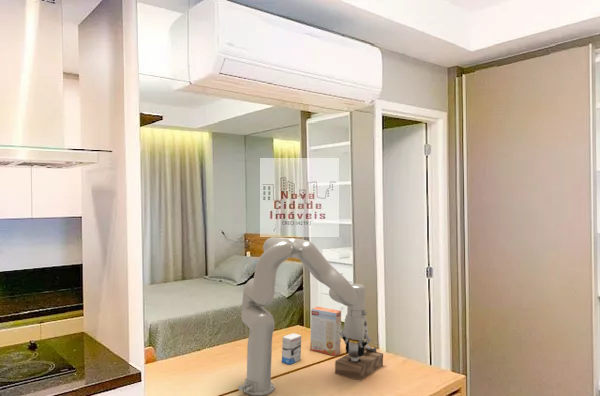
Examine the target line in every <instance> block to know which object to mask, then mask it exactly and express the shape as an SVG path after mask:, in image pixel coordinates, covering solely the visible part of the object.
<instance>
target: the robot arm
mask: <svg viewBox="0 0 600 396" xmlns="http://www.w3.org/2000/svg"><path fill="white" fill-rule="evenodd" d="M262 250H263V253H261V255H260V256H259V258H258V260H257V262H256V265H255V269H254V276H253V277H252V278H250V279H249V280H248V281H247V282H246V283H245V285H244V288H243V291H242V300H241V301H242V302H241V312H240V313H241V316H240V317H241V321H242V322H243V324H244V325H245V326H246V327H247V328H248V329H249V333H248V338H247V349H246V350H247V353H246V354H247V355H246V356H247V357H246V360H247V361H246V379H244V383H243V384H241V385H239V386H238V388H237V389H238V391H239V392H242V391H243V392H244V394H245V393H246V394H247V395H250V396H266V395H269V394H272V393H273V392H274V391H275V384H274V383H273V382H272V358H273V357H272V352H273V348H272V347H273V346H272V345H273V337H274V336H273V334H274V330H275V319H274V317H273V314H272V313H271V312H270V311H268V309H266V308H265V307H267V306H269V305H271V304H272V302H273V301H274V297H275V290H276V288H275V287H276V279H277V272H278V269H279V267H280V266H281V265H282V264H283V263H284V262H286V261H287V260H288V259H297V260H299V261H300V262H301V264H303V266H305V268H306V269H307V270H308V271H309V272H310V274H311V275H312V276H313V278H314V279H316V280H317V281H318V282H320V283H321V284H323V285H324V286H326V287H327V288H329V291H328V295H329V297H330V299H332V300H333V301H335V302H337V303H338V304H342V305H344V306H345V307H347V309H346V310H347V311H346V312H347V313H346V314H345V317H344V323H343V330H341V333H340V335H341V339H342V340H343V341H344V344H345V353H346V354H348V349H349V339H354V340H358V341H359V344H360V347H359V357H361V356H363V355H364V346H366V345H368V344H369V343H371V342H372V338H371V336H370V335H369V327H368V325H369V324H368V318H367V316H368V312H367V311H366V286H365V285H363V284H361V283H350V282H349V281H348V280H347V278H346V277H345V276H343V275H342V274H341V273H340V272H339V271H338V270H337V269H336V268H335V267H333V266H332V265H331V264H330V262H329V261H328V260H327V259H326V257H325V256H324V254H322V253H321V251H319V249H318V248H317V246H316V245H315V244H314V243H313V242H311V241H310V240H306V239H302V238H293V237H278V236H272V237H269V238H267V239H266V240H265V241H264V243H263V246H262ZM365 339H366V340H365Z"/></svg>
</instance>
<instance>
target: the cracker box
mask: <svg viewBox="0 0 600 396" xmlns="http://www.w3.org/2000/svg"><path fill="white" fill-rule="evenodd" d="M310 311H311V315H310V316H311V318H310V319H311V320H310V347H309V349H310V351H312V352H313V351H314V352H318V353H321V354H325V355H329V356H337V355H339V354H340V353H341V339H342V337H341V335H340V333H341V332H342V310H339V309H333V308H332V309H331V308H327V307H321V306H315V307H313V308H311V310H310Z"/></svg>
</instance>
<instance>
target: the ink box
mask: <svg viewBox="0 0 600 396" xmlns="http://www.w3.org/2000/svg"><path fill="white" fill-rule="evenodd" d="M281 348H282V350H281V363H283V364H286V365H289V366H290V365H292V364H295V363H297V362H300V361H301V356H302V355H301V354H302V335H301V334H297V333H295V332H293V333H289V334H286V335H284V336H283V337H282V345H281Z"/></svg>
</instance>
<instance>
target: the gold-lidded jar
mask: <svg viewBox="0 0 600 396" xmlns="http://www.w3.org/2000/svg"><path fill="white" fill-rule="evenodd" d="M359 347H360V344H359V341H358V340H354V339H349V349H348V353H347V354H348V355H349V356H351V362H354V363H357V362H359Z"/></svg>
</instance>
